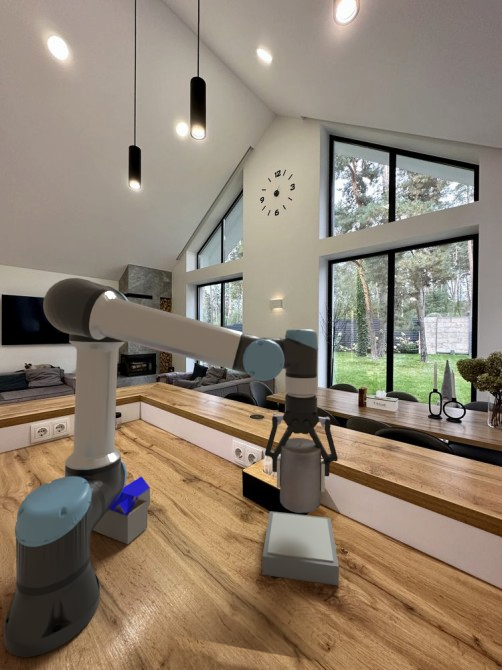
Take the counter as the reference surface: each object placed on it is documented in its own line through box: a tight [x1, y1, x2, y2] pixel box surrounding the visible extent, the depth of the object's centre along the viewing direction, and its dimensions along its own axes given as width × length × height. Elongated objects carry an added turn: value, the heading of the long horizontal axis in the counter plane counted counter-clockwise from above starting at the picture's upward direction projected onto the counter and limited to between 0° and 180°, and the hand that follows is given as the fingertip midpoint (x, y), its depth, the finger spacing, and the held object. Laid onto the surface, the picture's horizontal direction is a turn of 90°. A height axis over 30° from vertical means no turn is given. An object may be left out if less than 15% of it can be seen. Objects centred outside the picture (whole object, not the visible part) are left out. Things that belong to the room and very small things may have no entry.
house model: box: [92, 476, 151, 545], centre depth 83 cm, size 25×15×10 cm, turn 67°
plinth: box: [261, 511, 340, 586], centre depth 70 cm, size 16×16×4 cm
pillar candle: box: [279, 437, 322, 514], centre depth 70 cm, size 10×10×15 cm
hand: (300, 486), depth 70 cm, fingers closed on pillar candle, 10 cm apart
